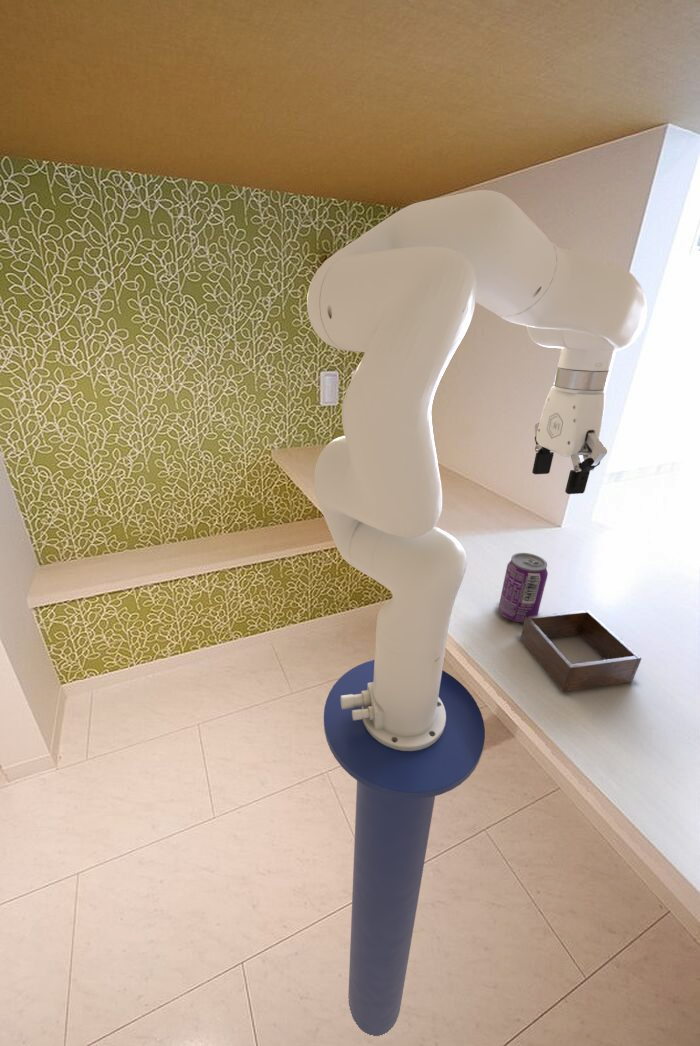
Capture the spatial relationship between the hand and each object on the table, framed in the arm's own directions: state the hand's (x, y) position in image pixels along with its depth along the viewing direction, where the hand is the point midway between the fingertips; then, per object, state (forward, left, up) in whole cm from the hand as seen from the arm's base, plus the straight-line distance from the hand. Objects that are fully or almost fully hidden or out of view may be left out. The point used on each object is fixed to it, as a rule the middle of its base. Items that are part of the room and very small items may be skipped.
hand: (556, 482), depth 76 cm
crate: (-1, -15, -26) cm, 30 cm away
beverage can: (-4, -2, -26) cm, 27 cm away
